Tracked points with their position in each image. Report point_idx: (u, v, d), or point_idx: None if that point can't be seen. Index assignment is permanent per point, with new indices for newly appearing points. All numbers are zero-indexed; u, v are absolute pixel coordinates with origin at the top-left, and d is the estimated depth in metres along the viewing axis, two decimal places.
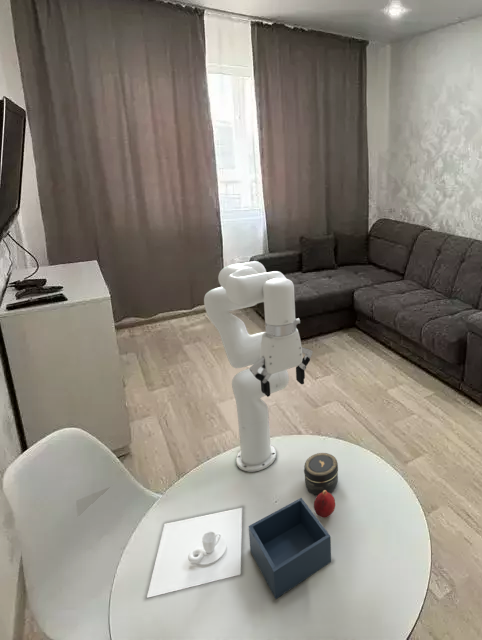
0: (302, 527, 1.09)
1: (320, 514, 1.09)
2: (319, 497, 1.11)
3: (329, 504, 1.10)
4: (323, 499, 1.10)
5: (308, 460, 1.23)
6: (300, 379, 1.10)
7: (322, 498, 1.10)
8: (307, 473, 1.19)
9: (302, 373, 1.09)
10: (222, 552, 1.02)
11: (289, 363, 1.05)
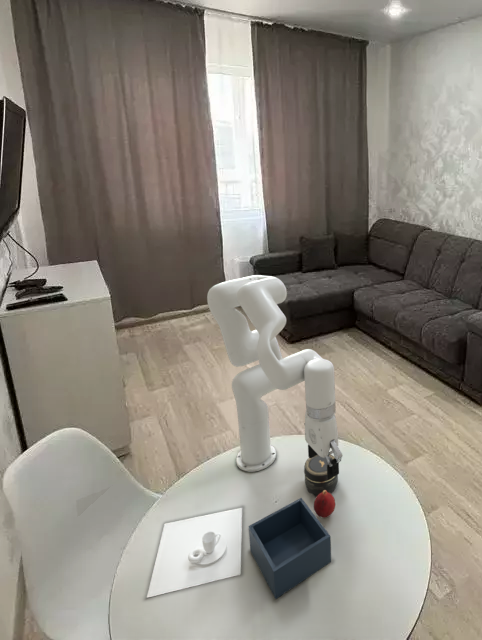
0: (302, 527, 1.09)
1: (320, 514, 1.09)
2: (319, 497, 1.11)
3: (329, 504, 1.10)
4: (323, 499, 1.10)
5: (308, 460, 1.23)
6: None
7: (322, 498, 1.10)
8: (307, 473, 1.19)
9: None
10: (222, 552, 1.02)
11: None
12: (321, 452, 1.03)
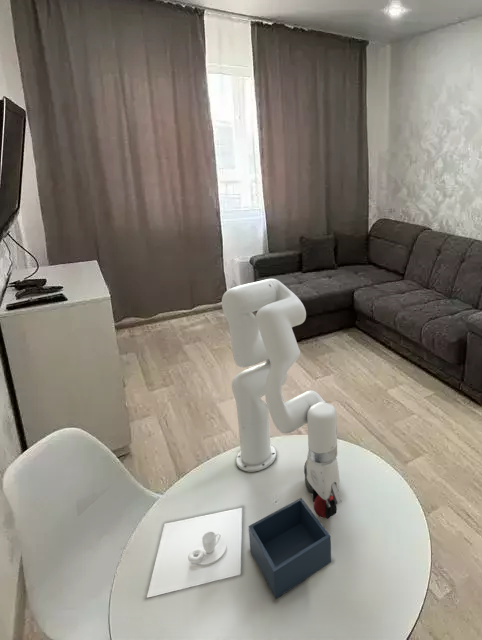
0: (302, 527, 1.09)
1: (320, 514, 1.09)
2: (319, 497, 1.11)
3: None
4: (323, 499, 1.10)
5: None
6: None
7: None
8: None
9: None
10: (222, 552, 1.02)
11: None
12: (323, 494, 1.06)
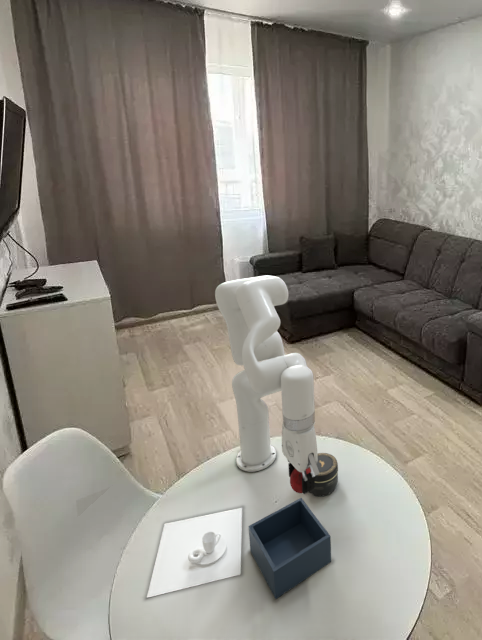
0: (302, 527, 1.09)
1: (296, 489, 0.99)
2: (295, 471, 1.00)
3: None
4: (299, 473, 1.00)
5: None
6: None
7: (298, 472, 1.00)
8: None
9: None
10: (222, 552, 1.02)
11: None
12: (299, 466, 0.95)
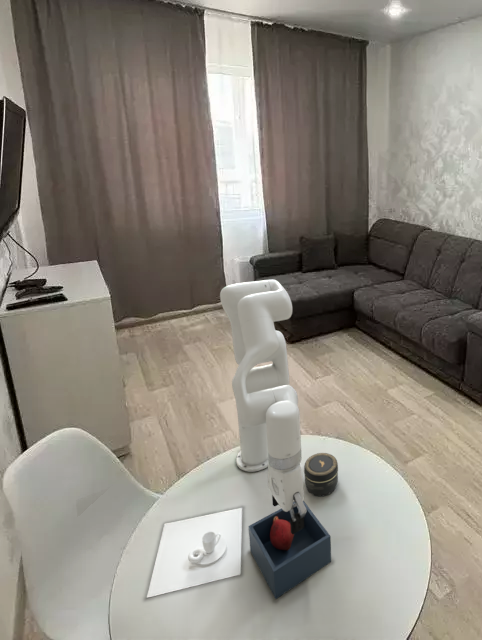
0: None
1: (276, 542, 1.00)
2: None
3: (281, 526, 1.01)
4: (274, 525, 1.02)
5: (308, 460, 1.23)
6: None
7: (273, 525, 1.02)
8: (307, 473, 1.19)
9: None
10: (222, 552, 1.02)
11: None
12: (283, 506, 0.92)
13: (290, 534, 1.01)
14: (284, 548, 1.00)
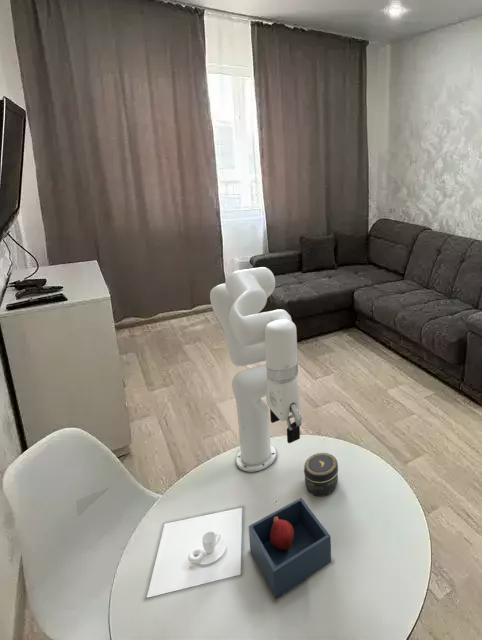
0: (302, 527, 1.09)
1: (276, 542, 1.00)
2: None
3: (281, 526, 1.01)
4: (274, 525, 1.02)
5: (308, 460, 1.23)
6: None
7: (273, 525, 1.02)
8: (307, 473, 1.19)
9: None
10: (222, 552, 1.02)
11: None
12: (281, 415, 0.99)
13: (290, 534, 1.01)
14: (284, 548, 1.00)
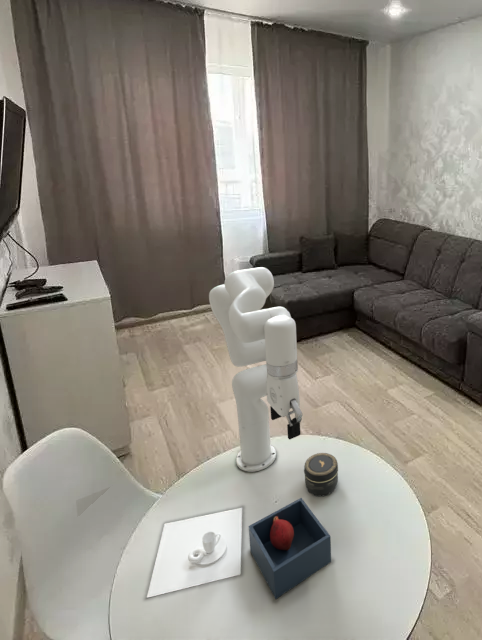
0: (302, 527, 1.09)
1: (276, 542, 1.00)
2: None
3: (281, 526, 1.01)
4: (274, 525, 1.02)
5: (308, 460, 1.23)
6: None
7: (273, 525, 1.02)
8: (307, 473, 1.19)
9: None
10: (222, 552, 1.02)
11: None
12: (281, 411, 0.99)
13: (290, 534, 1.01)
14: (284, 548, 1.00)
